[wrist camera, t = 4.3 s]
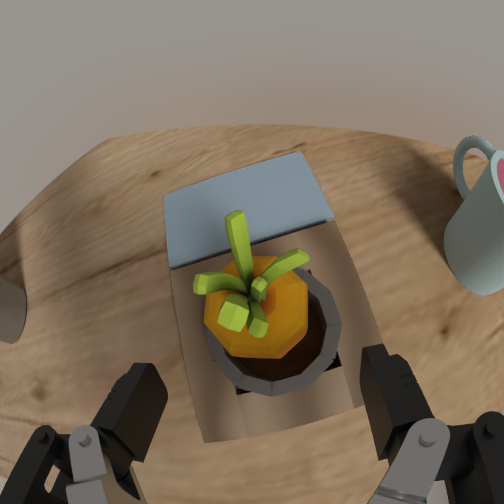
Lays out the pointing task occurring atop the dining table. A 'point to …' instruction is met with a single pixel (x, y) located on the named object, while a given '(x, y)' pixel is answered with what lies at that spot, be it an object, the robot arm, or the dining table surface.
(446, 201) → the dining table surface
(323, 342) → the ring stand
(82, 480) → the robot arm
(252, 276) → the carrot
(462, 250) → the mug
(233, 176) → the slate mat
